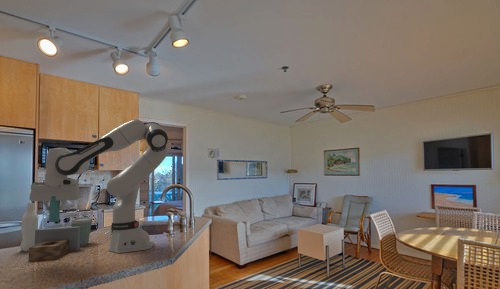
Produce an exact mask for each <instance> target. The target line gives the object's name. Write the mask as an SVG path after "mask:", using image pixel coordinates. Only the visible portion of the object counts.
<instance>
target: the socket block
mask: <svg viewBox="0 0 500 289" xmlns="http://www.w3.org/2000/svg"><path fill="white" fill-rule="evenodd" d="M68 252H70V251H69V240H54V241H43V242H41V243H38V244H36V245H34V246H32V247H30V248H29V251H28V261H27V262H32V261H33V262H35V261H46V260H48V261H49V260H57V259H59V258H60V257H62V256H64V255H66V254H67V253H68Z"/></svg>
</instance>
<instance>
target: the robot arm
mask: <svg viewBox="0 0 500 289" xmlns="http://www.w3.org/2000/svg"><path fill="white" fill-rule="evenodd" d="M143 140H144V141H146V143H147V144H148V147H147V148H146V149H145V150H144V151H143V152H142V153H141V154H140V155H139V156H138V157H137V158H136V159H135V160H134V161H133V162H132V163H131V164H129V165H128V166H127V167H126V168H124V169H122V171H120V172H119V173H118V174H116V175H115V176H114V177H112V178H110V179H109V180H108V181H107V183H106V191H107V192H108V194H110V195H111V196H113V197H116V199H115V202H114V205H113V206H112V221H111V227H110V230H111V237H110V244H109V247H108V251H109V252H113V253H116V254H122V253H131V252H138V251H146V250H149V249H152V248H153V247H154V245H155V242H154V241H153V240H150V235H149V233H148V232H147V231H145V230H144V229H142V228H141V227H140V220H136V205H137V204H136V203H137V198H138V193H139V190H140V187H141V182H142V181H144V180H145V179H147V178H148V177H149V176H150V175H151V174H152V173H153V172H154V171H155V170H156V169H157V168H158V167H159V166H160V165H161V164H162V163H163V162H164V160H165V159H166V158H167V156H168V154H169V150H168V148H167V145H168V142H169V141H168V140H169V137H168V134H167V132H166V130H165V128H163V126H162V125H161V124H159V123H158V122H155V121H151V122H143V121H141V120H140V119H132V120H129V121H126V122H125V123H122V124H121V125H118V126H117V127H115V128H113V129H112V130H111V131H108V133H106V134H105V135H103V136H102V137H100V138H99V139H97V140H95V141H93V142H91V143H89V144H87V145H85V146H83V147H81V148H80V149H78V150H76V151H71V150H69V149H68V148H66V147H54V148H51V149H49V150H48V151H47V154H46V158H45V159H46V160H45V170H46V172H45V174H44V181H34V182H32V184H30V194H29V197H28V198H29V201H30V202H42V204H43V205H44V208H45V211H46V212H48V211H49V210H50V201H51V196H56V200H57V201H60V206H59V209H58V210H60V211H63V210H64V206H65V205H66V204H67V202H68V201H76V200H79V199H80V197H81V192H80V191H81V190H80V186H79V185H78V184H79V180H78V179H75V178H71V177H68V176H72V175H81V174H84V173H86V172H87V171H88V170H89V169H90V167H91V162H90V161H91V160H92V159H93V158H94V159H95V157H97V156H100V155H102V154H104V153H108V152H116V151H118V152H119V151H121V150H124V149H126V148H128V147H130V146H131V145H133V144H135V143H136V142H138V141H143Z"/></svg>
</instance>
